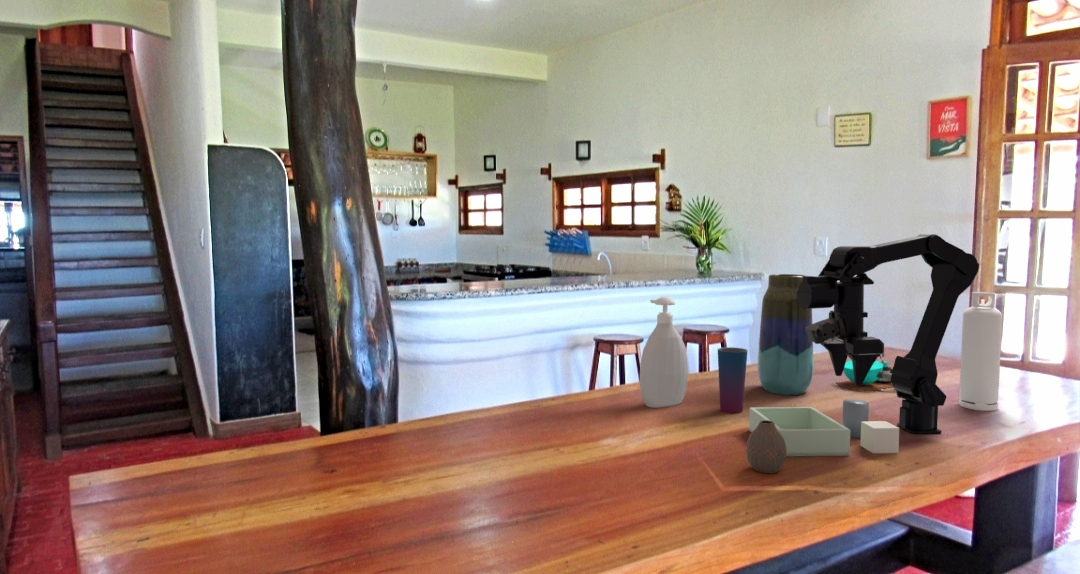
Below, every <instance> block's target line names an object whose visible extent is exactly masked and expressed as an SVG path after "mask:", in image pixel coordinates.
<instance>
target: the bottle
mask: <svg viewBox="0 0 1080 574" xmlns="http://www.w3.org/2000/svg"><path fill="white" fill-rule="evenodd" d="M980 297H987V298H988V300H987V302H986V303H985V301H986V299H983V298H982V299H980V301H981V302H980V303H979V298H980ZM995 303H996V293H995V292H990V291H972V292H971V306H970V307H968V308H966V309H965V310H964V311H963V312H962V327H961V328H962V331H961V348H960V349H961V352H960V369H959V370H960V372H959V373H960V374H959V391H958V392H959V395H958V396H959V399H958V405H959V406H960V407H963V408H966V409H969V410H976V411H983V412H988V411H990V412H991V411H996V410H998V408H999V403H998V401H999V390H1000V388H999V387H1000V372H1001V354H1002V353H1001V352H1002V350H1001V349H1002V348H1001V347H1002V333H1003V332H1002V331H1003V314H1002V312H1001V311H1000V310H999V309H998V308H996V305H995Z"/></svg>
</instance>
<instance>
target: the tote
mask: <svg viewBox="0 0 1080 574" xmlns="http://www.w3.org/2000/svg"><path fill="white" fill-rule="evenodd" d="M748 414H749V418H748V431H749V432H751V433H752V432H753V431H754V430H755V429H756V427H757V426H758V425H759V422H760V421H762V420H768V421H772V422H774V424H775V427H776V428H777V430H778V431H779V432H780V434H781V435H782V437H783V438H784V441H785V444H786V457H828V456H829V457H830V456H831V457H832V456H833V457H834V456H835V457H840V456H841V457H842V456H843V457H845V456H847V457H848V456H849V457H850V455H851V437H850V429H848V428H846V427H845V426H843V425H842V423H839V422H838V421H836V420H835V419H833V418H831V417H829V416H828V415H826V414H824V413H823V412H821V411H819V410H818V409H816V408H815V407H813V406H788V407H787V406H780V407H779V406H778V407H776V406H775V407H749V412H748ZM751 433H750V434H751Z"/></svg>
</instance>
